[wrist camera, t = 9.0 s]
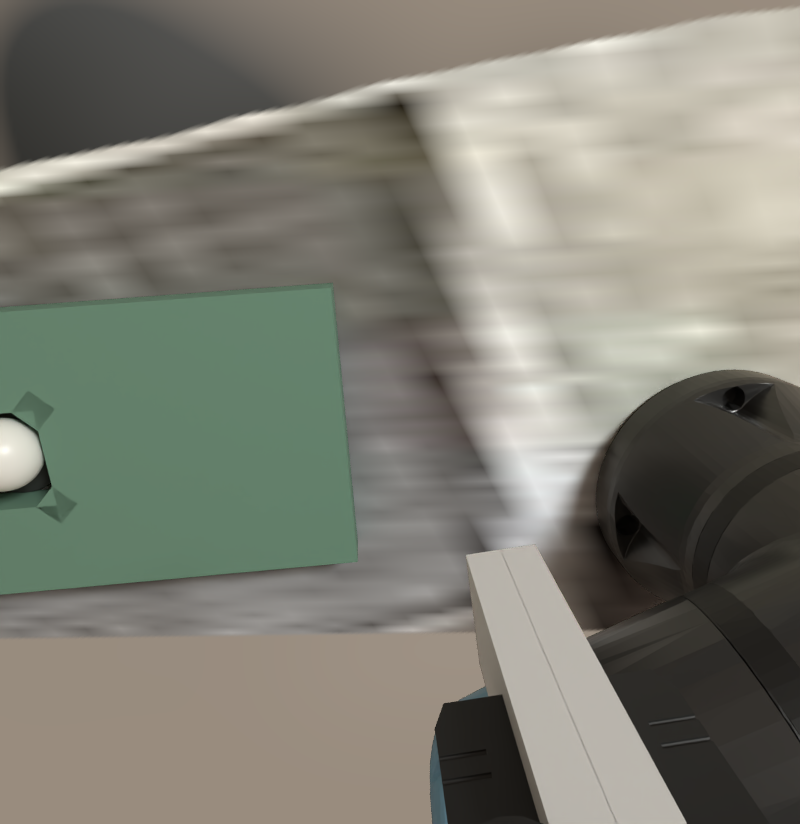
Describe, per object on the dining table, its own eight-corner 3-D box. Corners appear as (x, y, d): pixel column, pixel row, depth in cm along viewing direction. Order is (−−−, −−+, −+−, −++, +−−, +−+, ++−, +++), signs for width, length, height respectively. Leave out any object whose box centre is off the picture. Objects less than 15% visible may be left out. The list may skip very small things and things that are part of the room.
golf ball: (66, 428, 36) (48, 452, 33) (34, 485, 37) (13, 515, 33) (-7, 396, 35) (-34, 417, 31) (-39, 456, 35) (-70, 484, 32)
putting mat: (332, 282, 35) (330, 287, 32) (357, 541, 39) (357, 561, 37) (-154, 318, 33) (-193, 326, 31) (-68, 579, 38) (-96, 603, 36)
